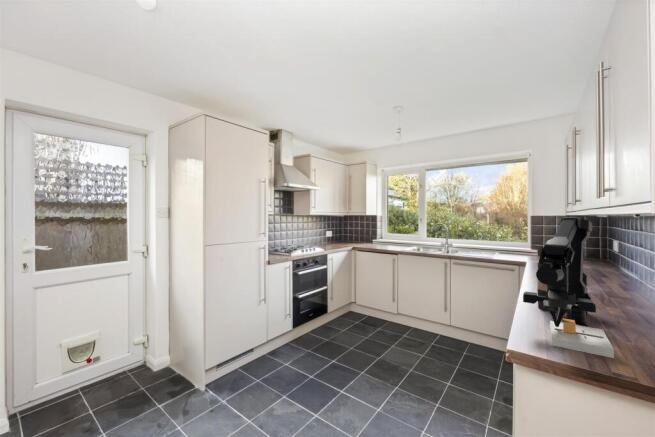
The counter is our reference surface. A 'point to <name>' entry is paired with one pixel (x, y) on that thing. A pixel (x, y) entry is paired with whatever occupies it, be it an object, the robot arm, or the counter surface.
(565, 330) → the fader knob
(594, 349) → the fader console
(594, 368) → the counter surface
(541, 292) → the travel mug
